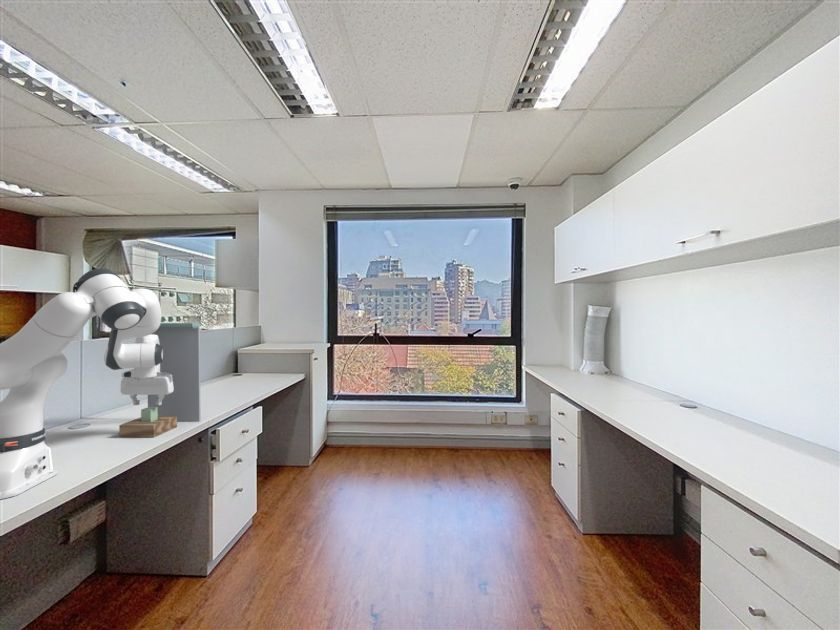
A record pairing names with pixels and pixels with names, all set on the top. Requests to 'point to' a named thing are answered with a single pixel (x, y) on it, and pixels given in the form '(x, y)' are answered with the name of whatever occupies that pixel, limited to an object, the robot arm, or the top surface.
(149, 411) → the peg
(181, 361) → the tall box with lid
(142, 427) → the socket block
